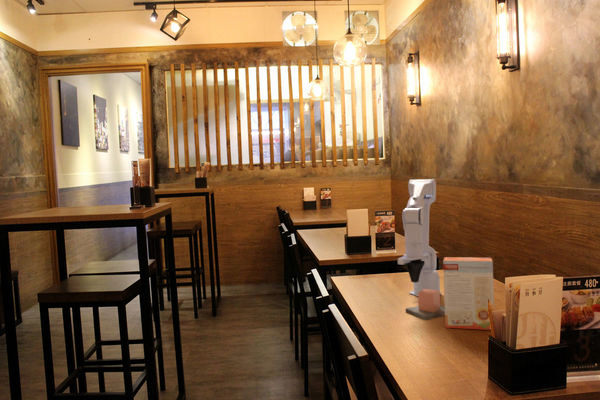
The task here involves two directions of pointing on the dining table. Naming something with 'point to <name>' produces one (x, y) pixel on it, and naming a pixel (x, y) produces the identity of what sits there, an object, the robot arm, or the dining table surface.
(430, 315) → the post board
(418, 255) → the robot arm
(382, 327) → the dining table surface
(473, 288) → the cracker box
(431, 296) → the peach wooden cube
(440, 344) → the dining table surface
